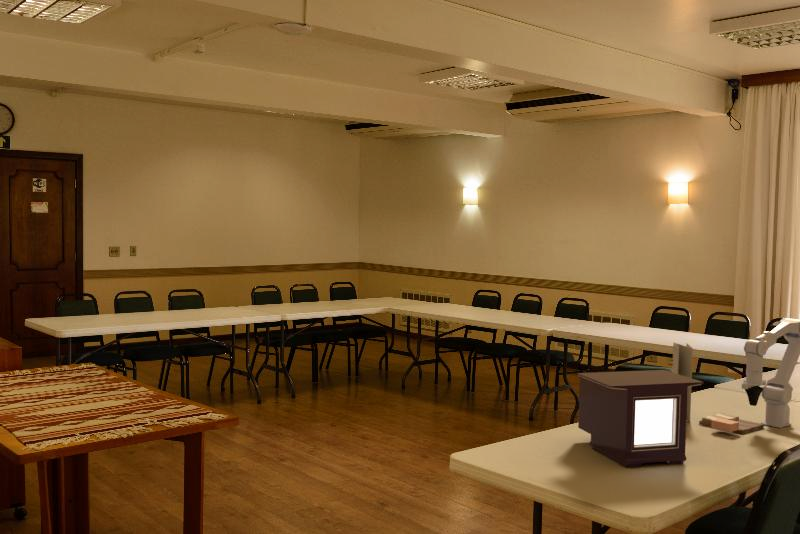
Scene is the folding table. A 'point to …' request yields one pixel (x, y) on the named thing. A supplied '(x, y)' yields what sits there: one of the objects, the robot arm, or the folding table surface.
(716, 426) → the orange rectangular block
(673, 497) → the folding table surface
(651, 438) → the brown box television
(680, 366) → the brochure
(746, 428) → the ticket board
